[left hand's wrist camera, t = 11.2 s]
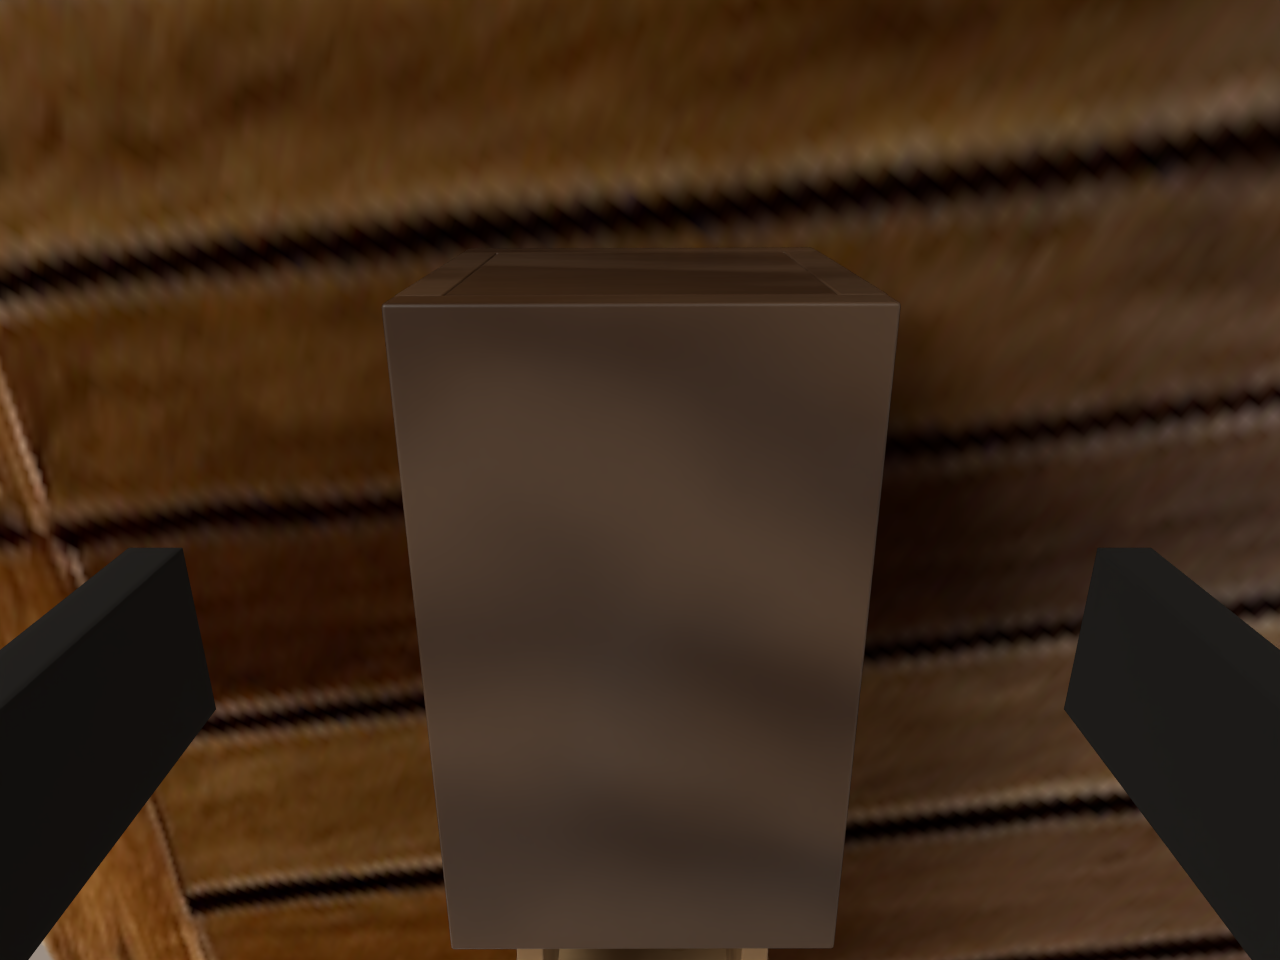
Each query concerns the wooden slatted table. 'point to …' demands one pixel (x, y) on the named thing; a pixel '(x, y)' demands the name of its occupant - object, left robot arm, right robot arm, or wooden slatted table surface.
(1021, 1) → the wooden slatted table surface
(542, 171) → the wooden slatted table surface
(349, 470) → the wooden slatted table surface
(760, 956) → the drawer
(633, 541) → the cabinet
